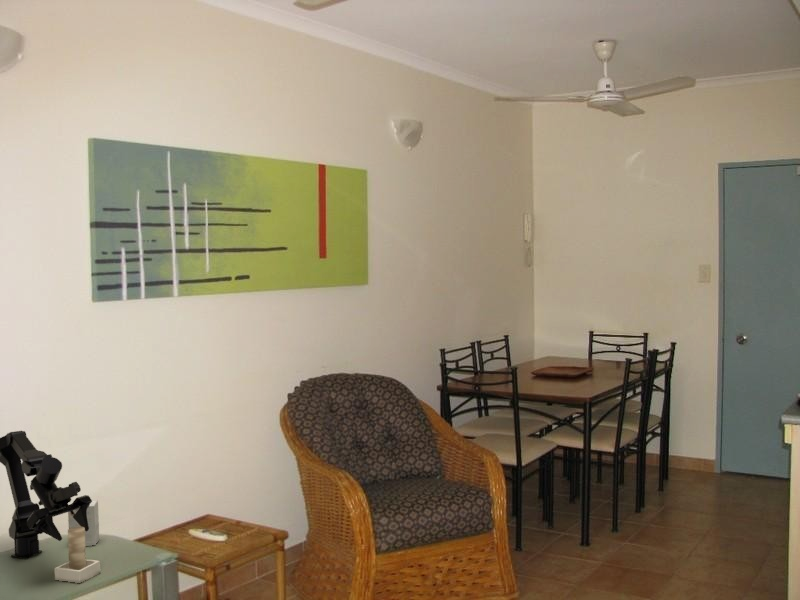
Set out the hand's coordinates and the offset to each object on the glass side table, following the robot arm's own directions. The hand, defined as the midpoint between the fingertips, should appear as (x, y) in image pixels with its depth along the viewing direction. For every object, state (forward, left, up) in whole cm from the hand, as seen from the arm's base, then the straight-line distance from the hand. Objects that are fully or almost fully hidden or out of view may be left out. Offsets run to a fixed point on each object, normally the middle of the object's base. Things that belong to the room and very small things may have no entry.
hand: (74, 535), depth 233 cm
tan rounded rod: (+1, 0, -11) cm, 11 cm away
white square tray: (+1, 0, -12) cm, 12 cm away
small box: (-17, +24, -12) cm, 32 cm away
